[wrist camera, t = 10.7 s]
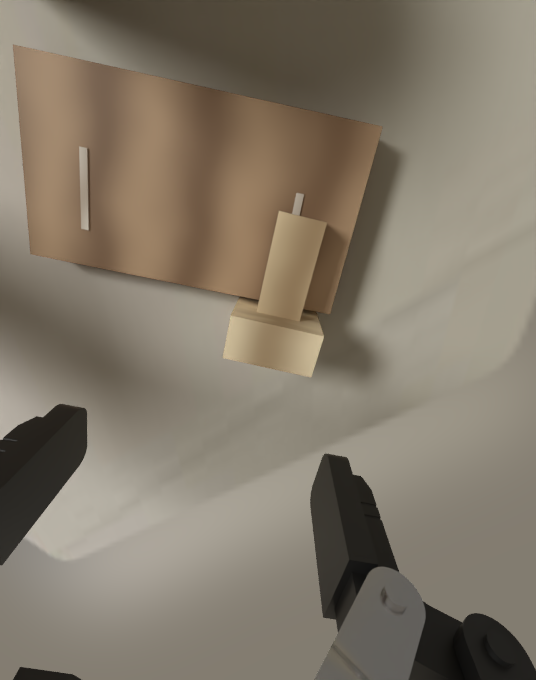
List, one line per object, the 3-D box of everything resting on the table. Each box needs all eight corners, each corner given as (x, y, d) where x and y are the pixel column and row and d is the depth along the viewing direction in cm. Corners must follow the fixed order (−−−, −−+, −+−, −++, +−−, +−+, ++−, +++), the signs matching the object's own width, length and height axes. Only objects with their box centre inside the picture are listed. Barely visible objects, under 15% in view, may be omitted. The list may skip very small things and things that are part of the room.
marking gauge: (235, 324, 27) (222, 357, 21) (259, 205, 24) (251, 204, 18) (304, 340, 27) (311, 377, 21) (338, 225, 24) (357, 230, 18)
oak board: (53, 250, 25) (29, 254, 23) (42, 62, 21) (11, 43, 18) (325, 305, 26) (330, 314, 24) (372, 135, 22) (383, 126, 19)
